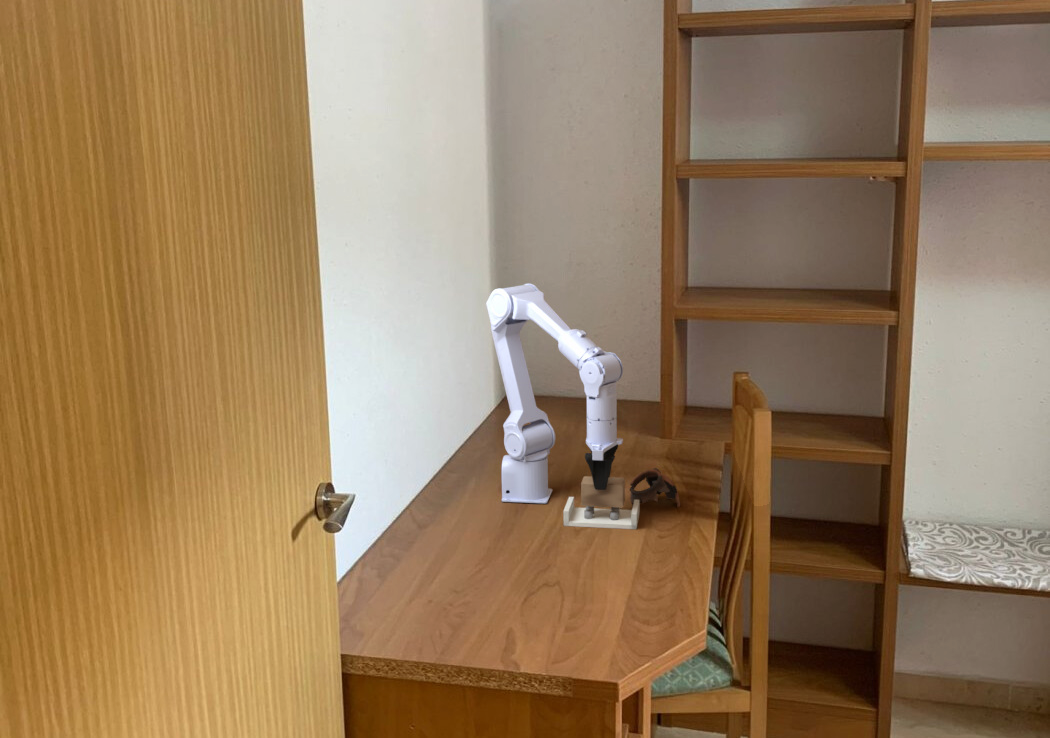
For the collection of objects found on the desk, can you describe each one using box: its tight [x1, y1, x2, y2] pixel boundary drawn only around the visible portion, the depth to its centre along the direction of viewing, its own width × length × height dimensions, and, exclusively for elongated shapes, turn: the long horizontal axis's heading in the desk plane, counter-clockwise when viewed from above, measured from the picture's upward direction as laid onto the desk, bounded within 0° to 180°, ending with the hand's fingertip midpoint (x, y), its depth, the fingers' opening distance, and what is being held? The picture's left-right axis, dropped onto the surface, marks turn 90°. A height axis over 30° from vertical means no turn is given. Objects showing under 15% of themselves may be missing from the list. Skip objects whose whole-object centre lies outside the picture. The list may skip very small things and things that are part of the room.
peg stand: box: [562, 496, 640, 530], centre depth 202 cm, size 14×8×3 cm, turn 80°
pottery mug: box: [629, 467, 681, 508], centre depth 210 cm, size 12×10×8 cm
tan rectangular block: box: [580, 475, 626, 509], centre depth 201 cm, size 8×4×4 cm, turn 80°
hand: (601, 484), depth 200 cm, fingers closed on tan rectangular block, 4 cm apart
